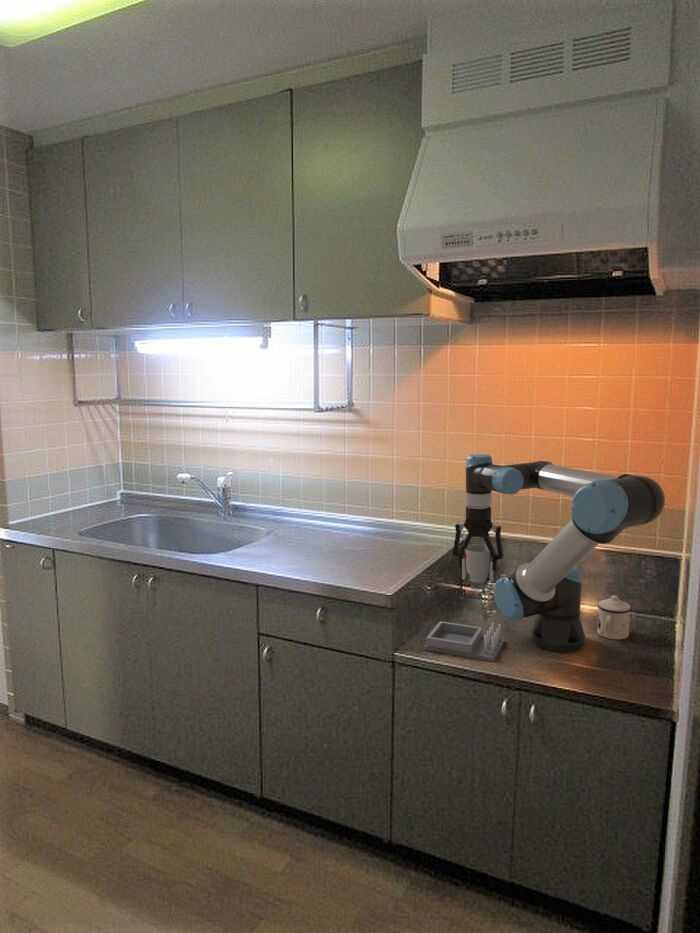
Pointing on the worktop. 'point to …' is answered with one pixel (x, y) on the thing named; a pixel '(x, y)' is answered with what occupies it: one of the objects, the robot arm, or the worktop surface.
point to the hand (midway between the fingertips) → (477, 579)
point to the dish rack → (465, 641)
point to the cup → (477, 562)
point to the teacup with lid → (613, 618)
